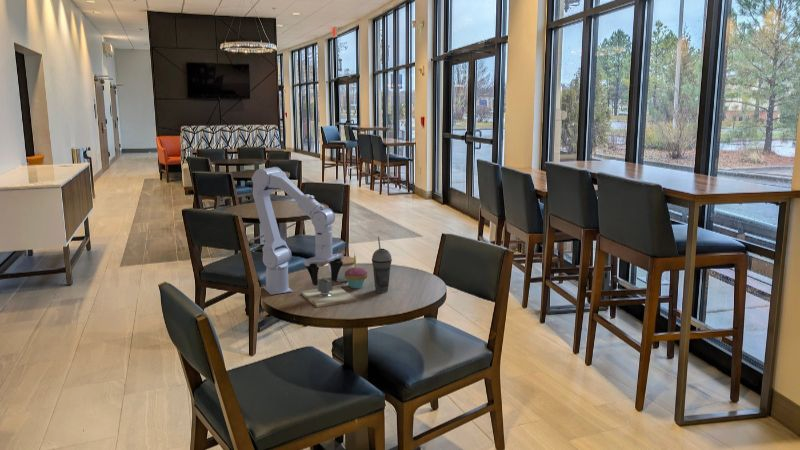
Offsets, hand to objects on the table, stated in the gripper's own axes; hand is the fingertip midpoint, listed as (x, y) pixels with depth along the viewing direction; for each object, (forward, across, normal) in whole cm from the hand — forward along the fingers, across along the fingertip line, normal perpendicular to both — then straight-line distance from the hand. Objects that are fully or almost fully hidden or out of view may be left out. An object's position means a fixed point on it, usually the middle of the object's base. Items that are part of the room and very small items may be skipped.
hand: (324, 282), depth 203 cm
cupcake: (+6, +16, +4) cm, 17 cm away
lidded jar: (+6, +17, +15) cm, 23 cm away
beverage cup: (+6, +20, -6) cm, 22 cm away
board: (+5, +1, -1) cm, 6 cm away
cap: (+2, 0, 0) cm, 2 cm away
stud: (+5, 0, 0) cm, 5 cm away
